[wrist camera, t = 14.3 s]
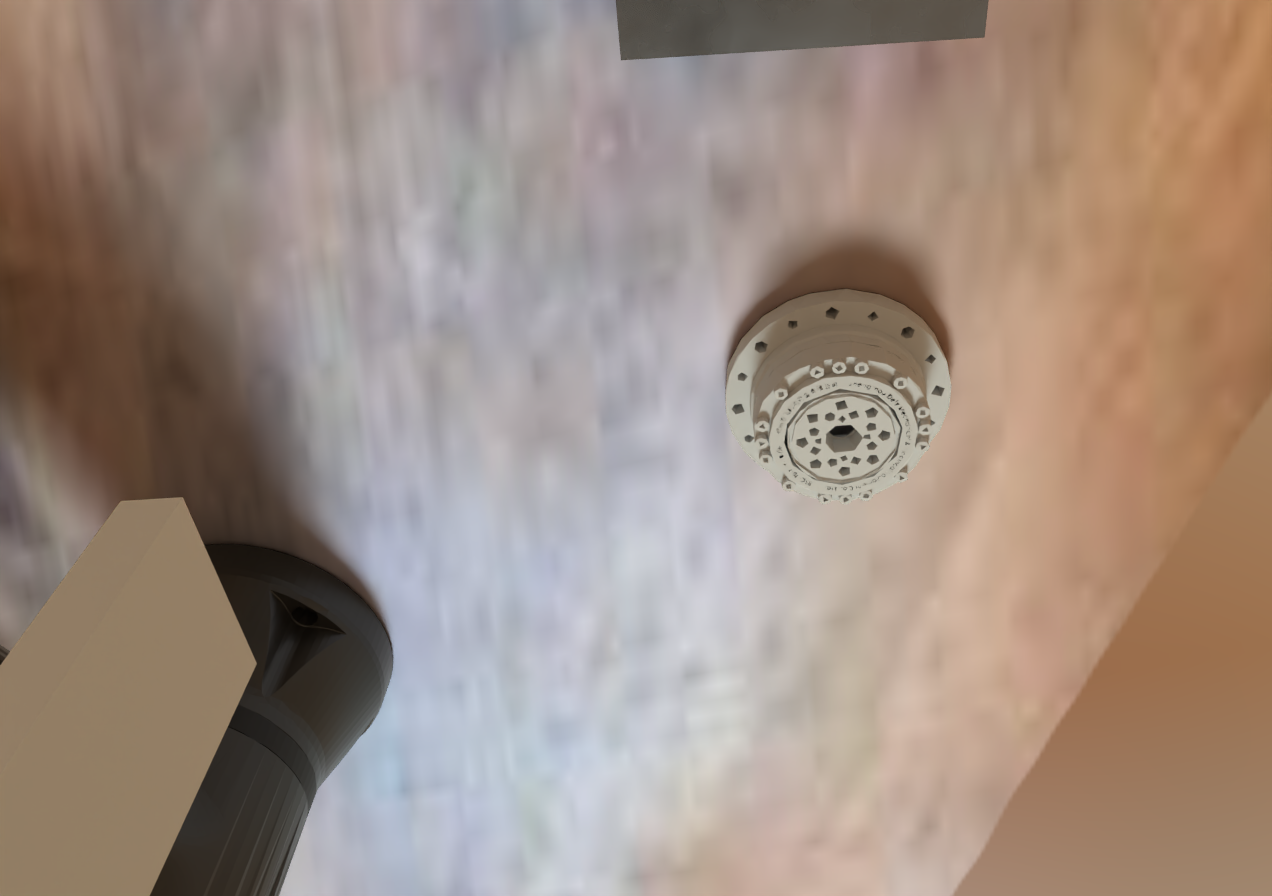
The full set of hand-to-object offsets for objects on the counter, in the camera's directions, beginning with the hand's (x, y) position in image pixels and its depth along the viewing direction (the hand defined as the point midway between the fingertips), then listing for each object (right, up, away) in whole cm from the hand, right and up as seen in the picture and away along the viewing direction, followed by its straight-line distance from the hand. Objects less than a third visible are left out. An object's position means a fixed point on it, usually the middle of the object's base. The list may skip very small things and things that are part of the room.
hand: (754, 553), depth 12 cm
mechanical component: (+8, +4, +36) cm, 37 cm away
